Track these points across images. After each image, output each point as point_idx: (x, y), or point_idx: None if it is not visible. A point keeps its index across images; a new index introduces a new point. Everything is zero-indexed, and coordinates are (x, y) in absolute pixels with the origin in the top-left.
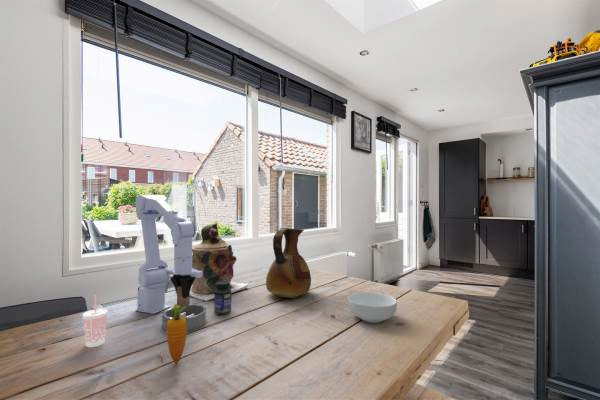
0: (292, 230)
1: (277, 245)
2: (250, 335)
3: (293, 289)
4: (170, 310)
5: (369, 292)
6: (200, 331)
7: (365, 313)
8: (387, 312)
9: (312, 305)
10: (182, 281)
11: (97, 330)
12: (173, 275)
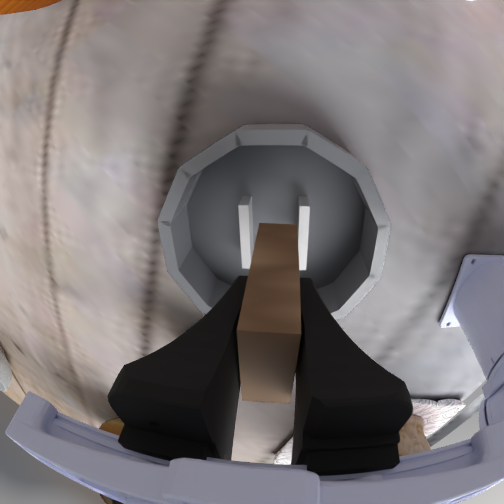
0: None
1: None
2: (24, 223)
3: (102, 429)
4: (373, 243)
5: (1, 390)
6: (145, 177)
7: None
8: None
9: (73, 390)
10: (173, 371)
11: None
12: (396, 447)
